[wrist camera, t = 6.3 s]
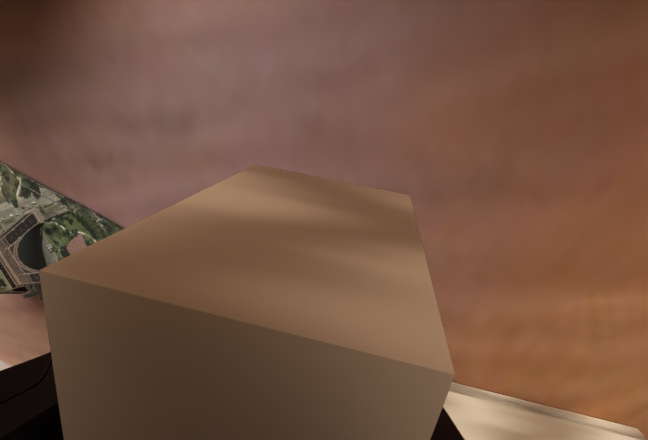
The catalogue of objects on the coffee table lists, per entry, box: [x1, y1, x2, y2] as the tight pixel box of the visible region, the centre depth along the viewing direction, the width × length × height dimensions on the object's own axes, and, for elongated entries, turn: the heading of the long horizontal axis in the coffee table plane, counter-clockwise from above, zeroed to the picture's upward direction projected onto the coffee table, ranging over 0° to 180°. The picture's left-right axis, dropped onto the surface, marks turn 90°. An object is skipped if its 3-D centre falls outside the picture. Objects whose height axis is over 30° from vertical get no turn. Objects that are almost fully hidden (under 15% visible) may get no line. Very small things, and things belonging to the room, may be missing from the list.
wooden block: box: [39, 165, 455, 440], centre depth 7 cm, size 4×7×6 cm, turn 171°
